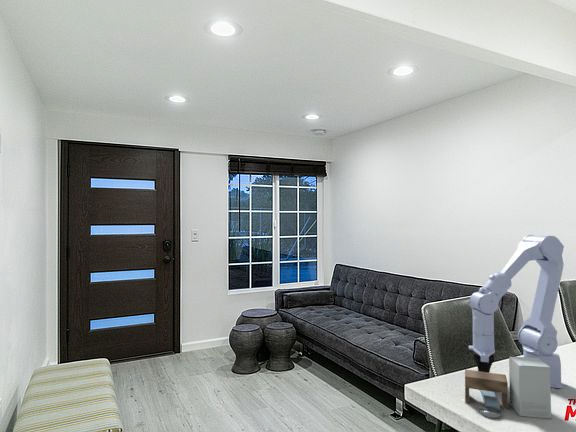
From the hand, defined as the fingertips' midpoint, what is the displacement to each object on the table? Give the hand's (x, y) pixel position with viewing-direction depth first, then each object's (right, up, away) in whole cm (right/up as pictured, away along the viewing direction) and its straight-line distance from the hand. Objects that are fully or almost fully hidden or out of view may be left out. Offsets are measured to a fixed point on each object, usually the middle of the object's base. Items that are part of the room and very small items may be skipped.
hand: (483, 378), depth 120 cm
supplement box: (+3, -1, -17) cm, 18 cm away
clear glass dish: (-8, -1, -19) cm, 21 cm away
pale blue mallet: (-3, -1, -10) cm, 10 cm away
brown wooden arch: (-6, -1, -12) cm, 13 cm away
